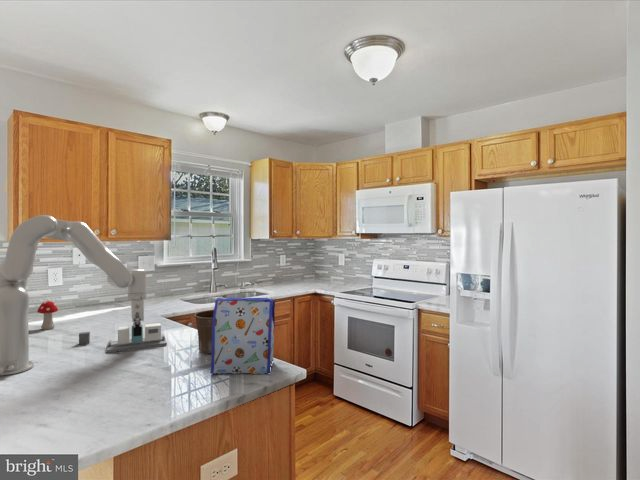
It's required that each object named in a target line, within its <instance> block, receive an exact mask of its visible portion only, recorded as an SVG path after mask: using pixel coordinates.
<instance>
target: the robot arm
mask: <svg viewBox="0 0 640 480" xmlns="http://www.w3.org/2000/svg"><path fill="white" fill-rule="evenodd" d="M45 238H46V239H51V240H52V239H53V240H58V241H65V242H71V243H72V244H73V245H74V246H75V247H76V248H77V250H79V251H80V253H81V254H82V255H83V256H84V257H85V259H86V260H87V261H89V262H91V264H93V265H94V266H96V267H98V268H99V269H100V270H102V271H103V272H104V273H105V274H106V277H107V278H106V280H107V283H108V284H109V285H110V286H113V287H116V288H120V289H126V288H127V300H128V301H130V313H131V314H130V315H131V320H132V326H133V325H134V327H133V336H141V325H142V322H144V321H145V300H146V299H147V271H146V270H145V269H143V268H142V269H141V268H137V269H136V268H134V269H128V268H127V267H126V266H125V264H124V263H123V262H122V261H121V260H120V259H119V258H118V257H117V256H116V255H115V254H114V253H112V251H111V250H110V249H109V248H108V247H107V246H106V245H105V244H104V243H103V242H102V240H101V239H99V237H98V236H97V235H96V234H95V233H94V231H93V230H92V229H91V228H90V226H88V225H87V223H85V222H83V221H78V220H77V221H71V220H63V219H58V218H57V219H56V218H54V217H53V216H52V215H49V214H40V215H35V216H33V217H30V218H28V219H26V220H24V221H22V222H21V223H20V224H19V225H18V226H16V228H15V229H14V230H13V232H12V233H11V236H10V239H9V243H8V246H7V249H6V253H5V257H4V259H3V260H2V261H1V262H0V376H9V375H13V374H14V375H15V374H19V373H23V372H25V371H29V370H31V369H32V368H33V367H34V365H35V364H34V362H33V361H31V360H30V358H29V357H30V355H29V351H30V349H29V348H30V347H29V343H30V341H29V309H30V295H29V293H28V291H27V290H26V288H27V284H28V279H29V278H30V277H31V275H32V273H33V271H34V263H35V258H36V252H37V249H38V245H39V243H40V241H41V240H42V239H45ZM29 360H30V361H29Z"/></svg>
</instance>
